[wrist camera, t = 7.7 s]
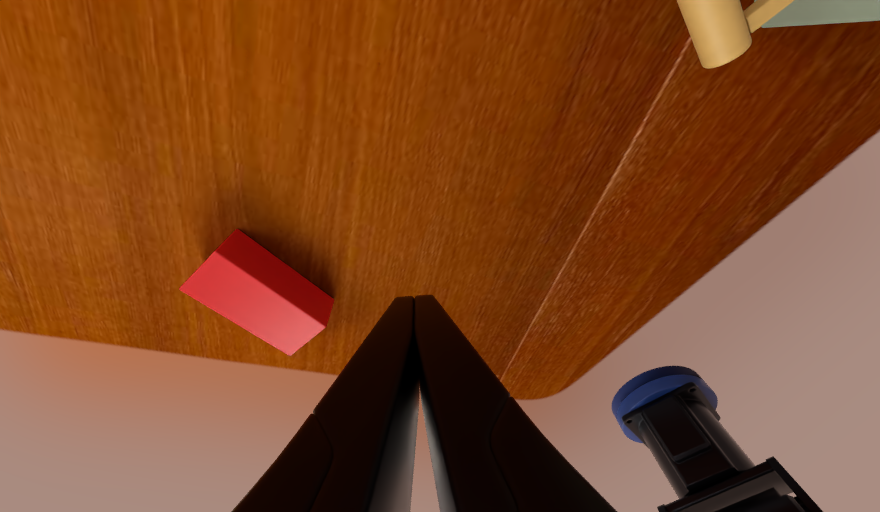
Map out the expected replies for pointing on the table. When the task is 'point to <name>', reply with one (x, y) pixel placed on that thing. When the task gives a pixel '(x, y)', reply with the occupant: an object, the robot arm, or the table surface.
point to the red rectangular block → (260, 293)
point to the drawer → (760, 21)
